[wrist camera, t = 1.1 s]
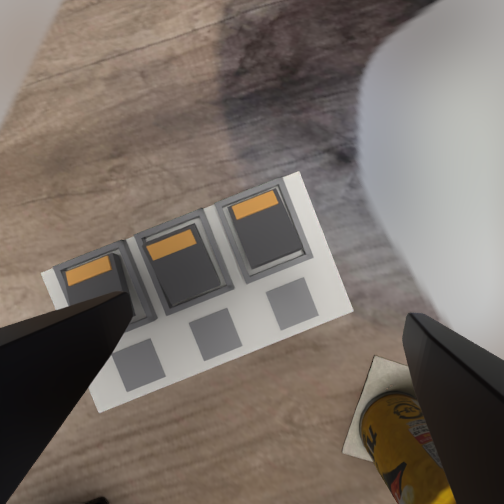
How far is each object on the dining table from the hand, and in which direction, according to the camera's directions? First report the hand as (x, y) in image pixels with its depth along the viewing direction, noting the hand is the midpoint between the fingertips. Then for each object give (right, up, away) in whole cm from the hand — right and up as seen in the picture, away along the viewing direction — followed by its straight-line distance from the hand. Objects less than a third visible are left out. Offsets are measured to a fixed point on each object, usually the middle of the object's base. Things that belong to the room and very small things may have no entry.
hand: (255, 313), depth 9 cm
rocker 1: (-10, -1, +11) cm, 15 cm away
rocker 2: (+1, +3, +11) cm, 11 cm away
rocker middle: (-5, +1, +11) cm, 12 cm away
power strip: (-7, -2, +14) cm, 16 cm away
